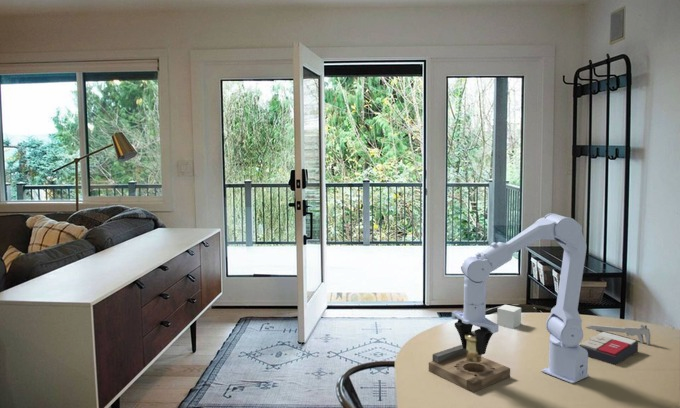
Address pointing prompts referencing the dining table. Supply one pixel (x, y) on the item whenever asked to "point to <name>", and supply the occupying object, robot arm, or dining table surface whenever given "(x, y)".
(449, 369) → the jig
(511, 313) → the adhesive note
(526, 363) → the dining table surface
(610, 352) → the printed card box
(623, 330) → the caliper
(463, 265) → the robot arm
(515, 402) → the dining table surface
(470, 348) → the bushing
